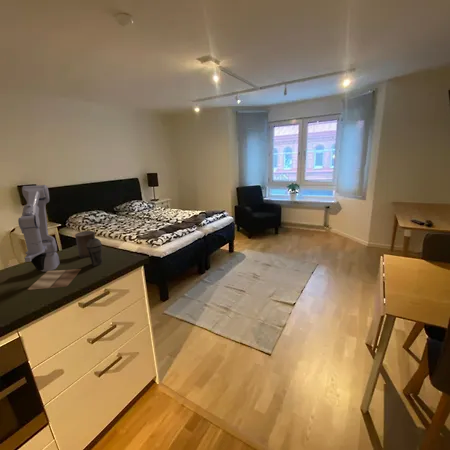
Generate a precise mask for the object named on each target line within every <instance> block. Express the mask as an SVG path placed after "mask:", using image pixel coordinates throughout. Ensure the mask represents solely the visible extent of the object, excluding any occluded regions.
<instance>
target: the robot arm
mask: <svg viewBox="0 0 450 450" xmlns="http://www.w3.org/2000/svg"><path fill="white" fill-rule="evenodd" d="M21 192H22V195H23V197H24V199H25V201H26V204H24V205H23V208H22V214H21V216H20V217H18V220H17V221H18V227H19V229H20V232H21V234H23V237H24V241H25V245H26V248H27V249H26V250H27V251H25V255H26V256H25V257H24V262H26V263H29V262H30V263H31V264H32V265H33V266H34V267H35V269H36V271H40V272H45V273H46V272H47V271H55V270H56V269H57V268H58V266H59V265H61V263H60V262H61V261H60V257H59V253H57V252H58V245H57V242H56V238H55V237H54V236H52V235H49V230H48V229H49V228H48V219H47V209H46V207H47V206H46V205H47V204H48V203H49V202H50V191H49V188H48V185H46V184H42V185H40V184H39V185H23V186H22V187H21Z"/></svg>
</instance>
